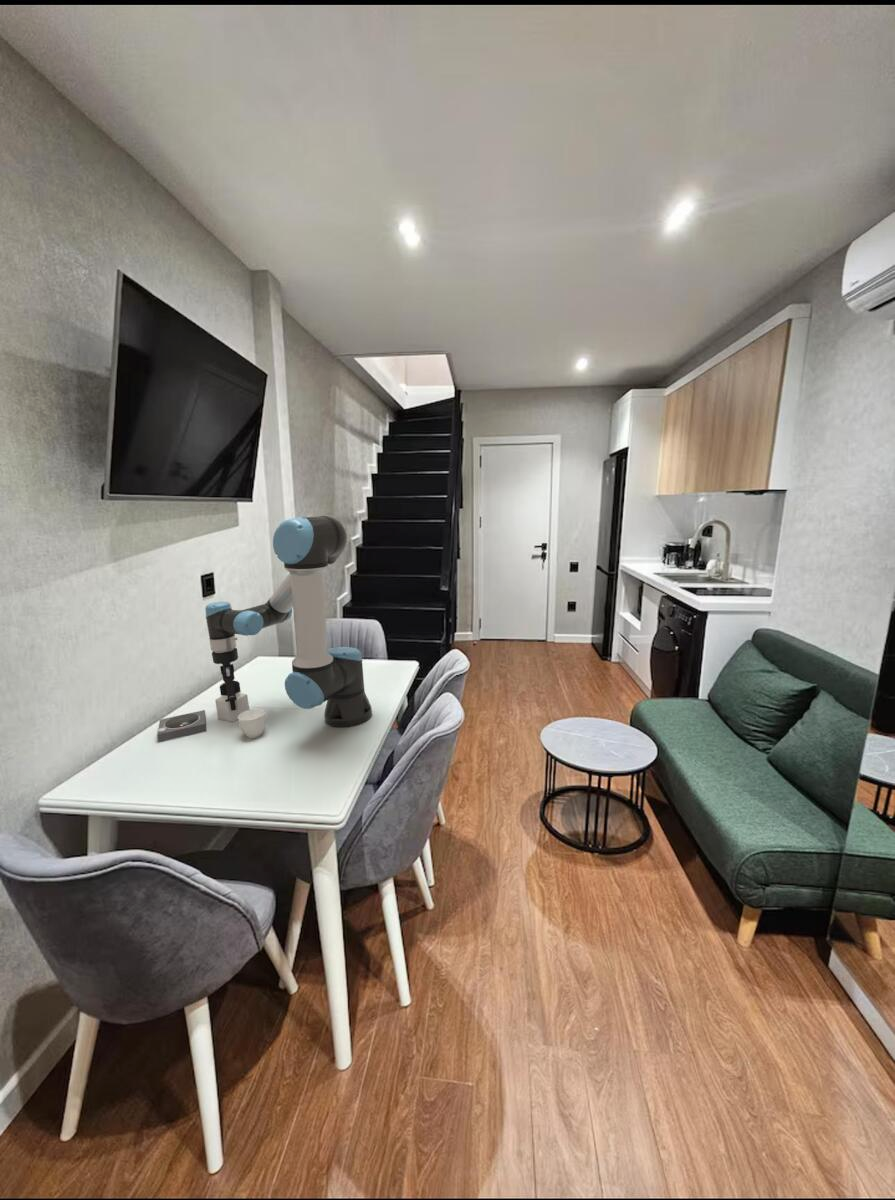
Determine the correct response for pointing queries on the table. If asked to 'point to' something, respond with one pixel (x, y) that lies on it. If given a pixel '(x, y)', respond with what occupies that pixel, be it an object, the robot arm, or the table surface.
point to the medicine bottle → (223, 706)
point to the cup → (252, 722)
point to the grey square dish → (181, 725)
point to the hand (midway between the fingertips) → (233, 711)
